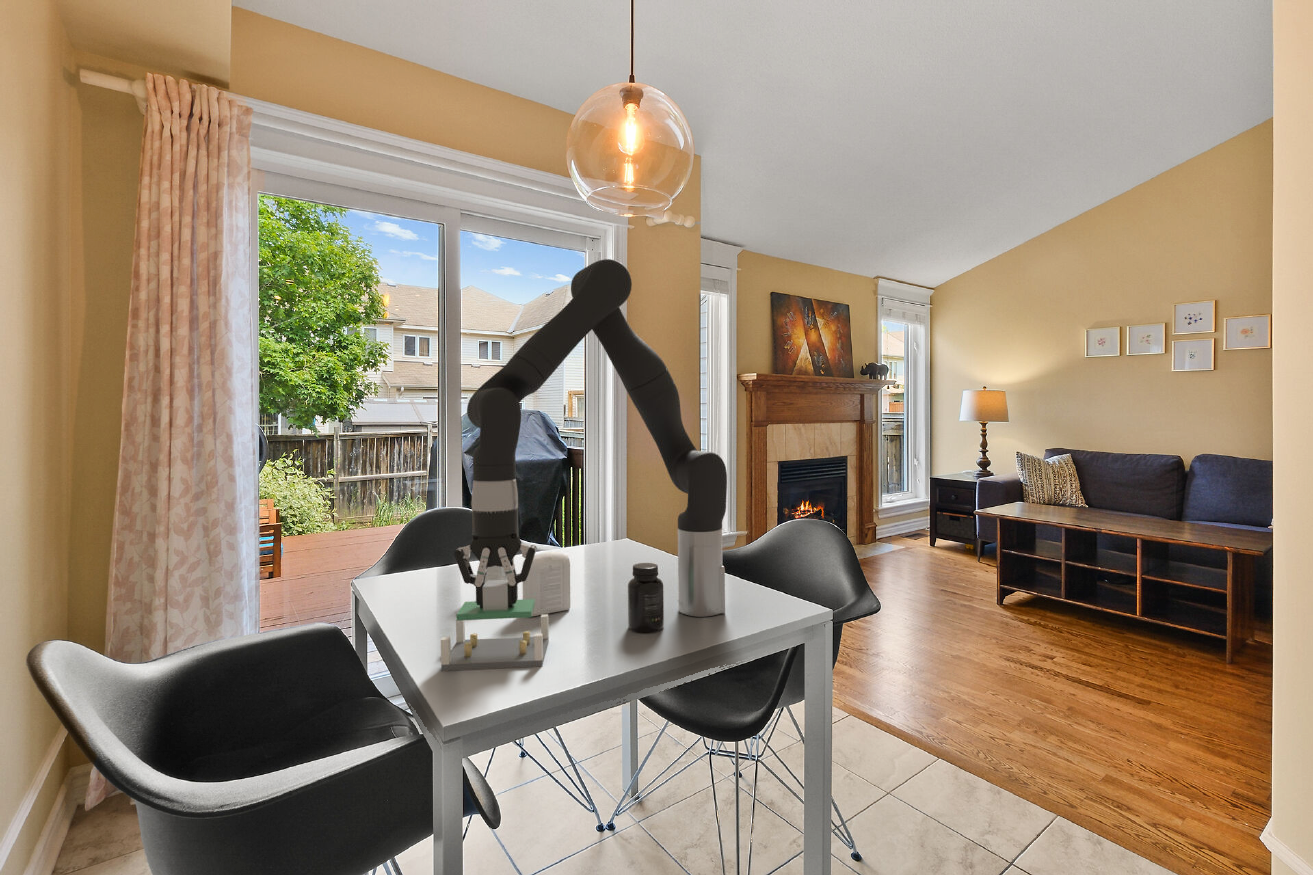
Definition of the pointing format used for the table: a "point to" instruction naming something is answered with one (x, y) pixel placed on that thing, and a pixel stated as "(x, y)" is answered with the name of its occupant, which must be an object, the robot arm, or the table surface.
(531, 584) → the white rounded block
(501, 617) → the module board
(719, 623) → the table surface
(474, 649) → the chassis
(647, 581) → the supplement bottle
